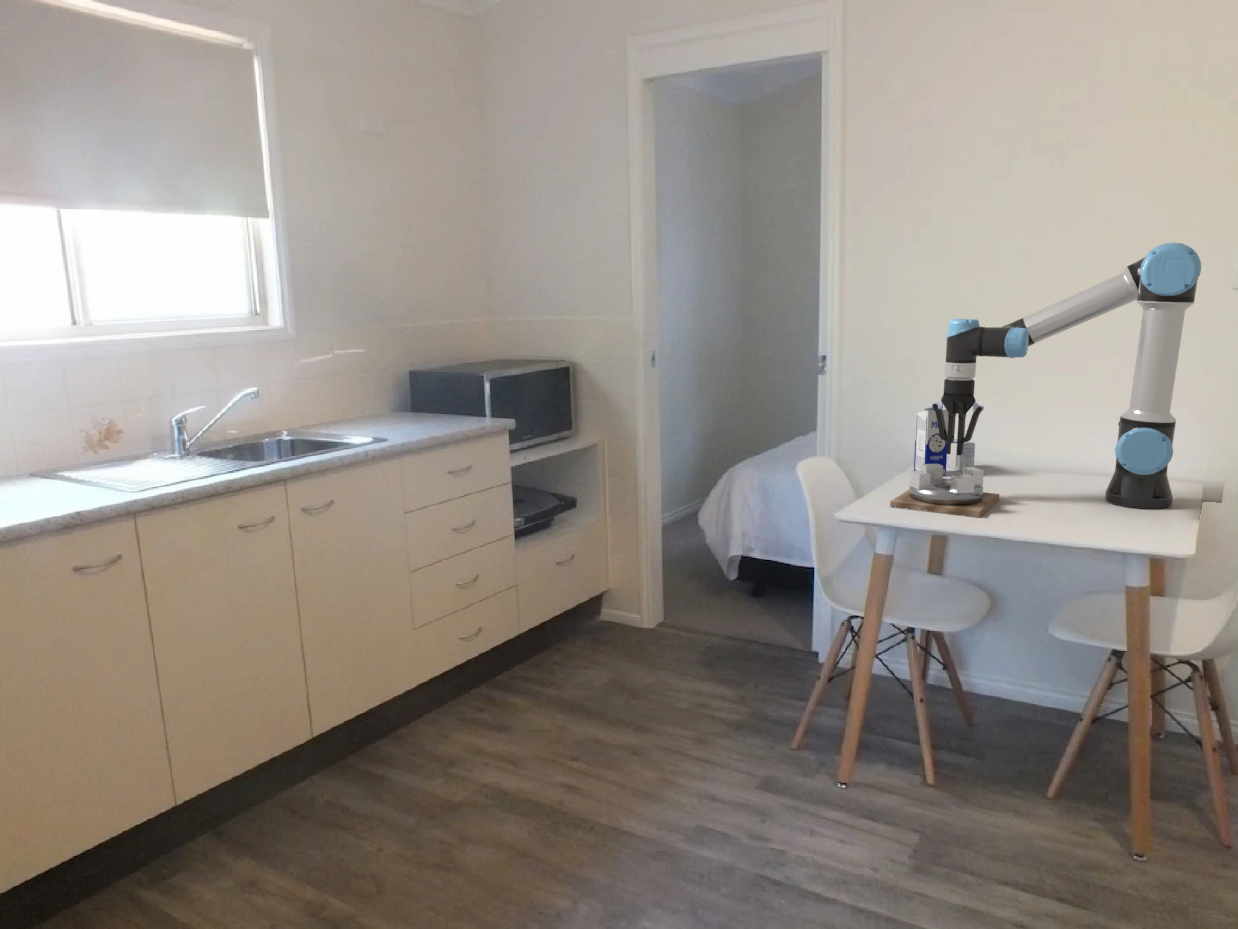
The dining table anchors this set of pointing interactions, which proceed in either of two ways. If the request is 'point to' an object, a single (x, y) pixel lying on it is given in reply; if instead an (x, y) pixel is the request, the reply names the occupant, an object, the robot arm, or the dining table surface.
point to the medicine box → (964, 456)
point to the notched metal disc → (946, 486)
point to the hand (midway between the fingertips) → (953, 466)
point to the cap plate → (966, 510)
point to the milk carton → (929, 440)
